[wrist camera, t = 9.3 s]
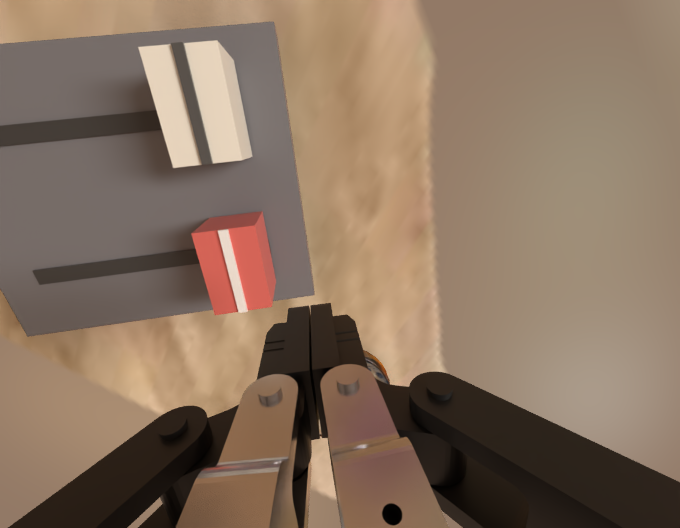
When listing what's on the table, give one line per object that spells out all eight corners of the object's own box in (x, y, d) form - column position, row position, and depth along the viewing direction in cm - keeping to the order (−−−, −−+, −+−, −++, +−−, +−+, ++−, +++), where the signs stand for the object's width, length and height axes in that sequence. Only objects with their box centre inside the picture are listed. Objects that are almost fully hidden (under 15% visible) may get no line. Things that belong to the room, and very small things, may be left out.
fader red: (209, 217, 24) (190, 234, 20) (262, 211, 24) (254, 226, 20) (228, 288, 26) (214, 316, 22) (276, 281, 26) (271, 308, 22)
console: (-77, 65, 21) (-138, 53, 18) (277, 35, 23) (273, 20, 20) (53, 317, 29) (25, 338, 26) (313, 280, 31) (314, 295, 28)
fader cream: (170, 65, 20) (136, 45, 16) (233, 60, 20) (216, 39, 16) (196, 163, 22) (171, 168, 18) (252, 156, 23) (241, 160, 18)
